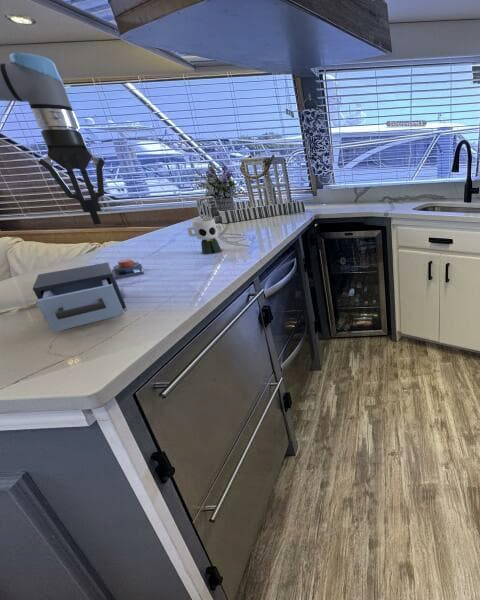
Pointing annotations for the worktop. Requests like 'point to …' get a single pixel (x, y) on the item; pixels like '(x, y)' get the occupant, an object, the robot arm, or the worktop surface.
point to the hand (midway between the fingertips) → (97, 223)
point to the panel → (127, 271)
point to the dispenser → (76, 279)
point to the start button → (126, 263)
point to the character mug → (206, 234)
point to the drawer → (79, 304)
